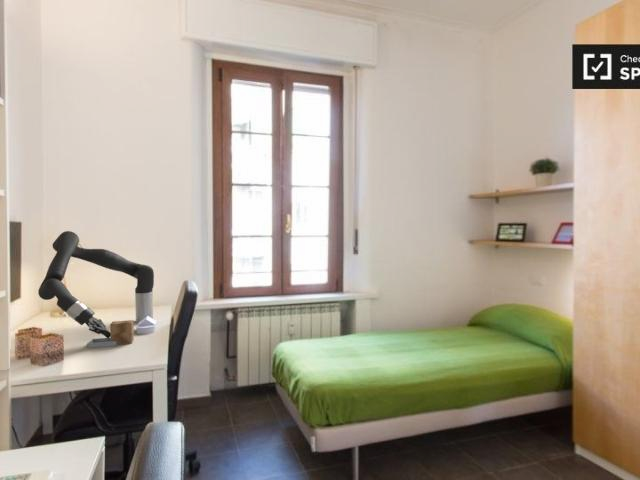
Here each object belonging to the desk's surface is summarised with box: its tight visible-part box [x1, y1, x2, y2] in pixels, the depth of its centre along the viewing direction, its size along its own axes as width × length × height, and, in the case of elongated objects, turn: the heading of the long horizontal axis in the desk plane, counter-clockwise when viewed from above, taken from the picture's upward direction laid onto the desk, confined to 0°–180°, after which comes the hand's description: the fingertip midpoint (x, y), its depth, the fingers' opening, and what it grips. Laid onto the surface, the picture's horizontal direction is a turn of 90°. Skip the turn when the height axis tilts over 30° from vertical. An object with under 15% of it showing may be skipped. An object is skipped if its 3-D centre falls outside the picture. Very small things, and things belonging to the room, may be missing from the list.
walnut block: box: [109, 319, 135, 345], centre depth 180 cm, size 9×5×10 cm, turn 107°
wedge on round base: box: [136, 316, 157, 335], centre depth 201 cm, size 9×7×13 cm
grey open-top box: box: [86, 337, 117, 349], centre depth 178 cm, size 12×8×2 cm, turn 107°
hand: (110, 336), depth 179 cm, fingers closed
